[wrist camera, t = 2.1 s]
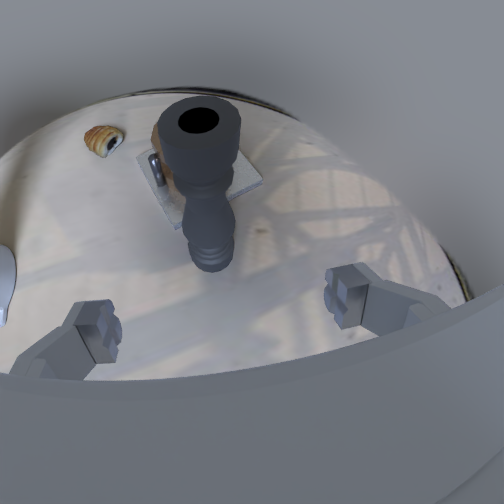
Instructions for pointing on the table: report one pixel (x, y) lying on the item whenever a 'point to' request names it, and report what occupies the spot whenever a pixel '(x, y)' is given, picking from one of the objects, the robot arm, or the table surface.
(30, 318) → the table surface
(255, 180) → the collar stand
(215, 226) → the candle holder
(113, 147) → the pastry
